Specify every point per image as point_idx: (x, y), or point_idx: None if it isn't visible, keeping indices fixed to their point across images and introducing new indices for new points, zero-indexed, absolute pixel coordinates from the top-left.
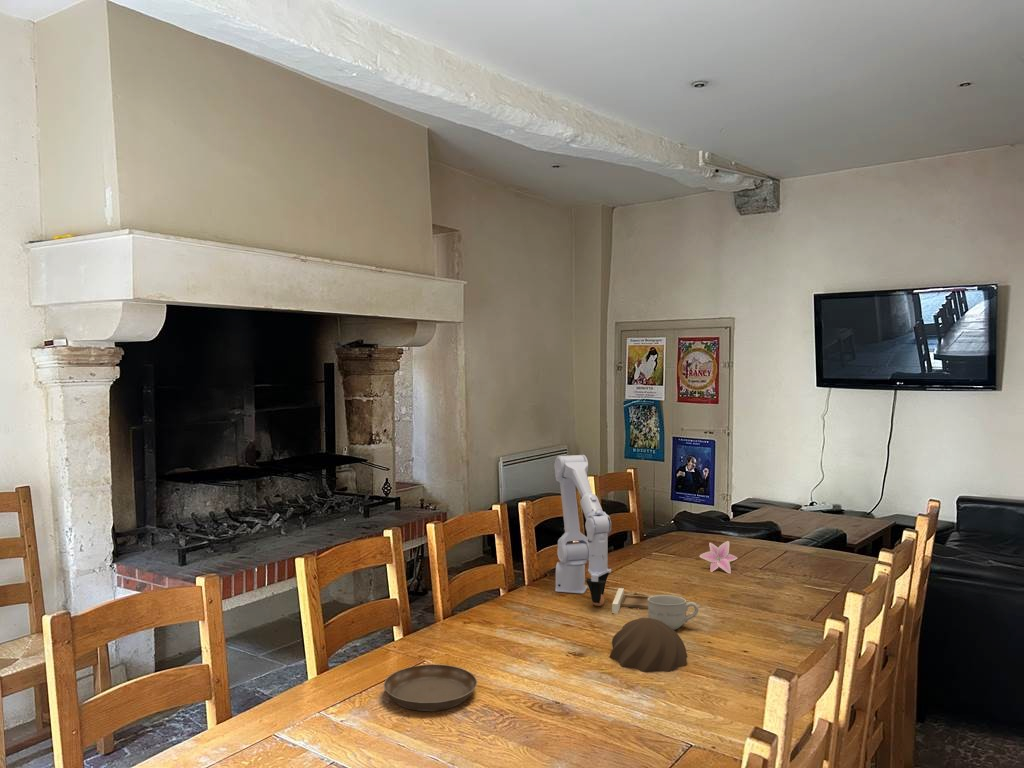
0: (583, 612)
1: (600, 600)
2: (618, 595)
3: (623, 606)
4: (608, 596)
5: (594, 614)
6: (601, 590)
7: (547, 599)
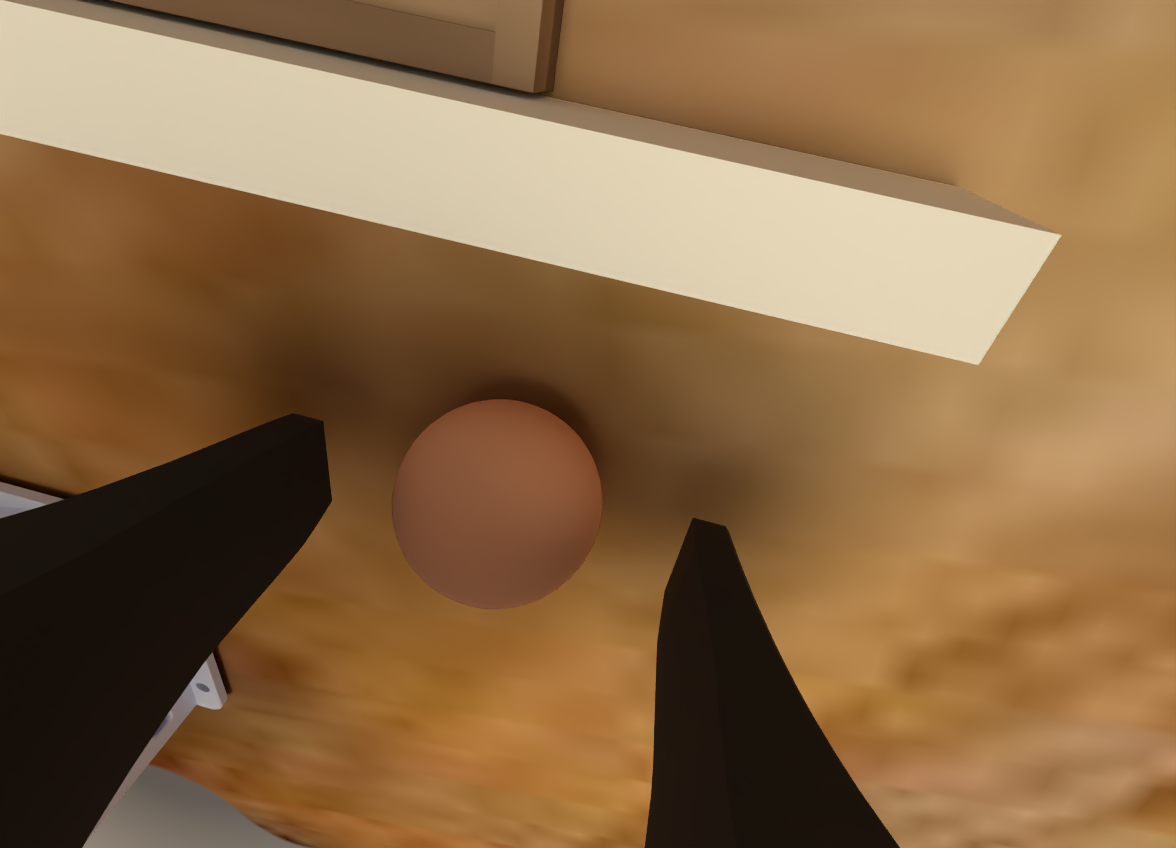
0: (784, 615)
1: (592, 491)
2: (335, 146)
3: (552, 19)
4: (84, 257)
5: (883, 526)
6: (836, 755)
7: (429, 762)
